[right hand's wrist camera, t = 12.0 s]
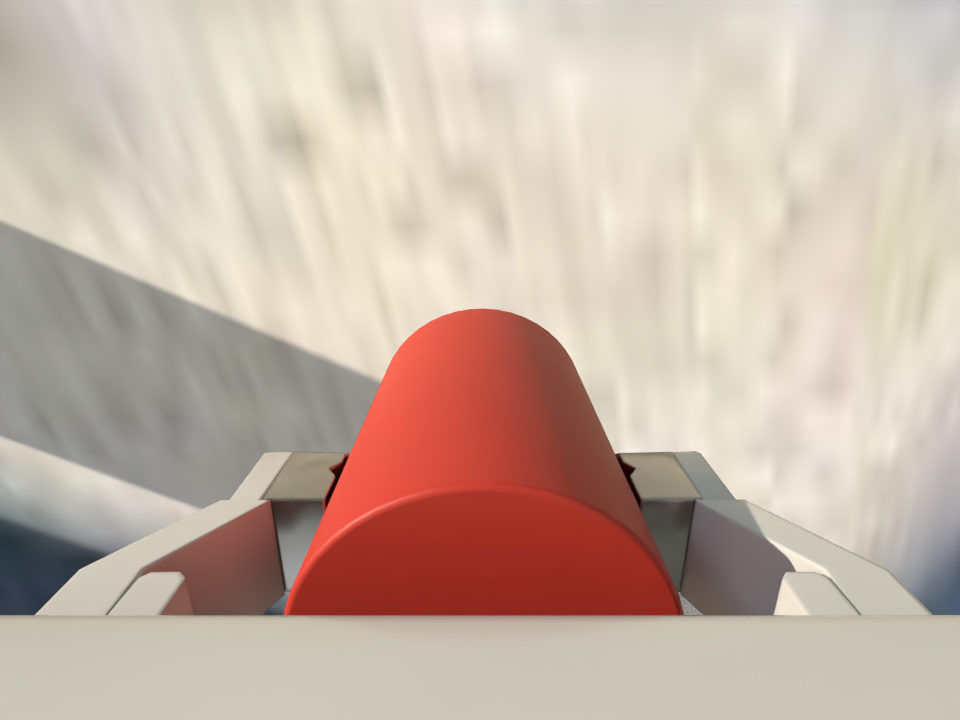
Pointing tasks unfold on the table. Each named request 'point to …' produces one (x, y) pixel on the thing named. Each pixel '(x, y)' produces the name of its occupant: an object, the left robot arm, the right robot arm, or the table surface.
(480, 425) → the can
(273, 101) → the table surface
